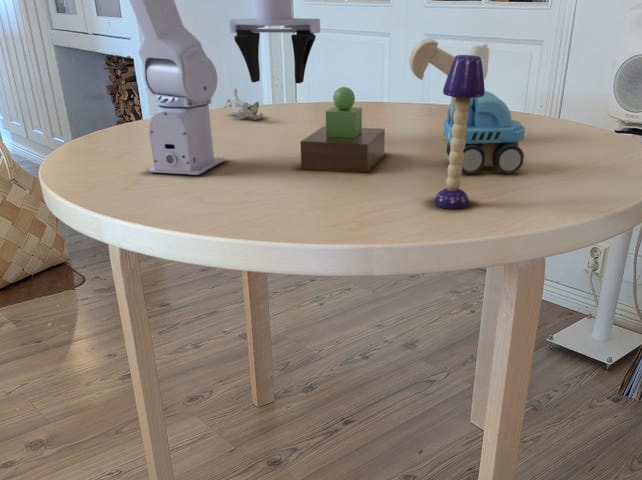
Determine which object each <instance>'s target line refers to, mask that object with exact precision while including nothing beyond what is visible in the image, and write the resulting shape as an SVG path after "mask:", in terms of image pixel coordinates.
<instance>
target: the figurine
mask: <svg viewBox="0 0 642 480" xmlns="http://www.w3.org/2000/svg"><path fill="white" fill-rule="evenodd" d="M467 51H468V52H467V53H468V55H473V56H479V57H480V58H481V61H482V69H483V78H484V80H486V78H487V75H488V70H489V59H490V48H489V47H488V43H483V44H482V43H479V44H476V43H475V44H470V45H468V50H467Z"/></svg>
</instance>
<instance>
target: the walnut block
mask: <svg viewBox="0 0 642 480" xmlns="http://www.w3.org/2000/svg"><path fill="white" fill-rule="evenodd" d="M385 136H386V129H385V128H375V127H373V128H371V127H362V133H360V134H359V135H358V136H357V137H355V138H341V137H326V125H325V126H322V127H321V128H319V129H317V130H316V131H314V132H312V133H311V134H310V135H308V136H307V137H305V138H303V139H302V140H301V141H300V167H301V170H307V171H309V170H311V171H325V172H326V171H327V172H328V171H329V172H344V173H360V174H364V173H365V174H367V173H368V172H370V170H371V169H372V168H373V167H374V166H375V165H376V164H377V163H378V162H379V161H380V160H381V159H382V158H383V157H384V156H385V144H386V143H385V142H386V140H385V139H386V137H385Z"/></svg>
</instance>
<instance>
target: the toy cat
mask: <svg viewBox="0 0 642 480" xmlns="http://www.w3.org/2000/svg"><path fill="white" fill-rule="evenodd" d="M232 95H233V99H234V100H231V99H229V98H228V99H227V100H226V101H225V104H224V105H223V108H224V109H227V108H232V109H231V110H232V114H231V115H232V116H236V117H237V118H238V119H240V120H245V119H247V118H248V117H251V118H252V119H253V120H254V121H258V120H259V119H261V118H262V117H263V116H264V114H263V113H262V112H260V113H259V114H258V109H259V107H260V106H259V105H260V102H259V101H256V102H253V103H249V102H247V101H243V100H240V99H239V96H238V88H236V87H235V88H234V89H233V93H232Z"/></svg>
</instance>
